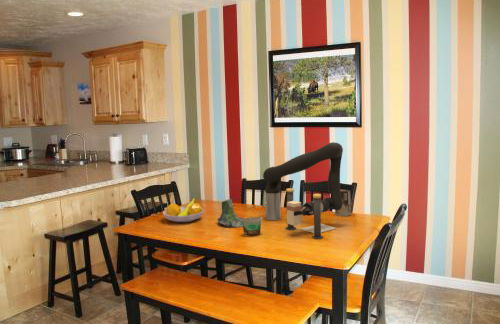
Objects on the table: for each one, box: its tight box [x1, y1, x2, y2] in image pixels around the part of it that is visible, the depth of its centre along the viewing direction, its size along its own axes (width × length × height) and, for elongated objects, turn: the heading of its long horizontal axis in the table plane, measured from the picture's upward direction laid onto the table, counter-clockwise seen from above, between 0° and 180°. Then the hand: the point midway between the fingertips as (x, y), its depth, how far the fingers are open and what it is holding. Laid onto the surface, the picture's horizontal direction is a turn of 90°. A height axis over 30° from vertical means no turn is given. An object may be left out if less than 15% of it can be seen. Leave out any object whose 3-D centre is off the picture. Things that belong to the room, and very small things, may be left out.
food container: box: [241, 215, 263, 237], centre depth 232 cm, size 12×6×10 cm, turn 105°
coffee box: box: [334, 189, 352, 217], centre depth 270 cm, size 9×6×16 cm
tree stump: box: [217, 198, 243, 229], centre depth 257 cm, size 18×20×18 cm
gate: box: [285, 188, 324, 240], centre depth 232 cm, size 28×6×24 cm, turn 35°
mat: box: [301, 223, 337, 234], centre depth 240 cm, size 12×16×1 cm
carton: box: [286, 200, 302, 227], centre depth 229 cm, size 6×6×12 cm
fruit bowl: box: [162, 197, 205, 223], centre depth 271 cm, size 28×27×11 cm
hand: (290, 212), depth 227 cm, fingers closed on carton, 5 cm apart
